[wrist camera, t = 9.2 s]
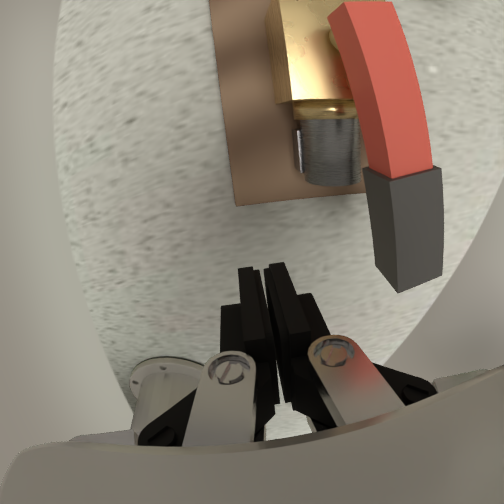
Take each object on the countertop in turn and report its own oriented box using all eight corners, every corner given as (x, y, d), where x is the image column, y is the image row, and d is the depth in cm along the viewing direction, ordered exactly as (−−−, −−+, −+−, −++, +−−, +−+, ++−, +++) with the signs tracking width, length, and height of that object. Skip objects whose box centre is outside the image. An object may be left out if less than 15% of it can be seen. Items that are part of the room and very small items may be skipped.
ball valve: (360, 169, 22) (401, 191, 16) (282, 175, 22) (301, 199, 16) (335, -31, 14) (365, -66, 8) (255, -35, 14) (263, -77, 8)
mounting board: (390, 186, 24) (398, 190, 23) (235, 201, 24) (235, 206, 22) (365, -35, 14) (371, -40, 13) (205, -39, 14) (203, -46, 13)
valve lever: (363, 21, 11) (400, 0, 7) (407, 243, 17) (441, 275, 13) (313, 25, 11) (340, 0, 8) (368, 257, 17) (397, 293, 14)
